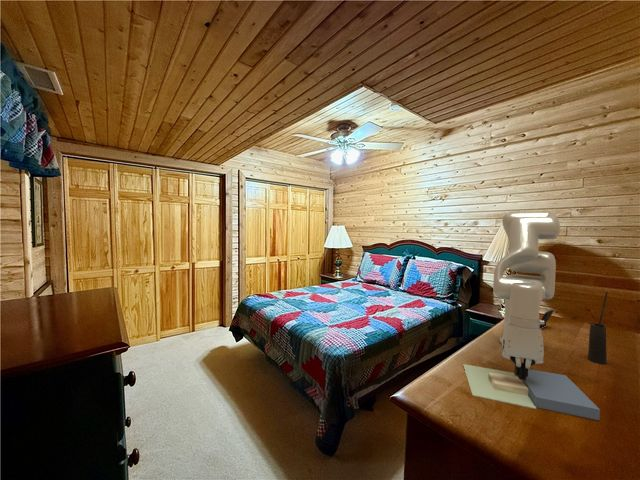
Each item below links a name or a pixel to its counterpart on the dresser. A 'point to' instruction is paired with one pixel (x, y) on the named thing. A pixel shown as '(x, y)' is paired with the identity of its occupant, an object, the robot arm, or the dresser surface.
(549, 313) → the dark brown angled stand
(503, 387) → the birch block
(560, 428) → the dresser surface
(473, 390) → the mat
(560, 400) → the slate blue tile
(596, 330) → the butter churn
